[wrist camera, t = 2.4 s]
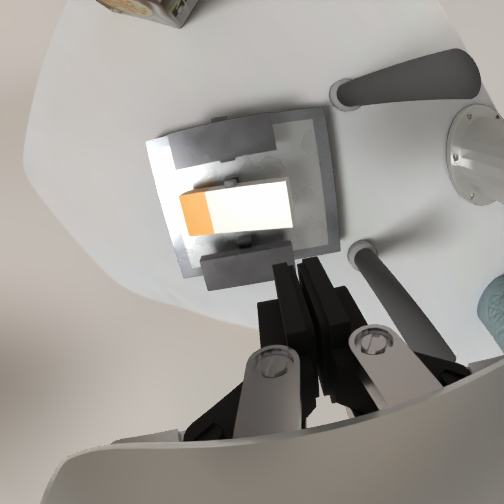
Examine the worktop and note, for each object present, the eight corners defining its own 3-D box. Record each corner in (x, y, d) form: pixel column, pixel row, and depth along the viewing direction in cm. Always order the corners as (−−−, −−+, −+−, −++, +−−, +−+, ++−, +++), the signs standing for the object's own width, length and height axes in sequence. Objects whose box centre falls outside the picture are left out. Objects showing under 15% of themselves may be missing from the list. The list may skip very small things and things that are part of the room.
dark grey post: (356, 80, 24) (479, 46, 8) (362, 110, 26) (490, 109, 9) (326, 81, 24) (429, 35, 8) (331, 112, 26) (443, 106, 9)
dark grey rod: (373, 238, 31) (465, 342, 15) (373, 263, 32) (454, 375, 16) (346, 242, 31) (426, 357, 15) (348, 268, 33) (416, 389, 16)
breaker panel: (316, 104, 25) (332, 99, 20) (334, 245, 31) (350, 270, 26) (153, 136, 26) (131, 139, 21) (188, 270, 32) (178, 299, 27)
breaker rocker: (288, 171, 22) (284, 176, 21) (296, 224, 24) (293, 232, 23) (185, 186, 25) (176, 191, 24) (197, 233, 27) (189, 240, 25)
